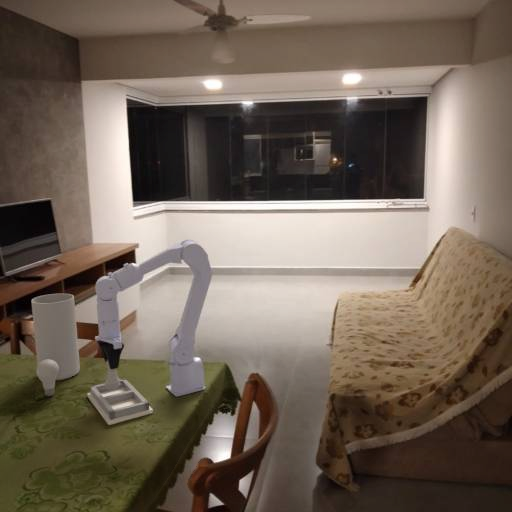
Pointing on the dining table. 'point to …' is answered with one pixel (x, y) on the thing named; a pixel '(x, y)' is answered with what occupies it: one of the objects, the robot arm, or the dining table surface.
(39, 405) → the dining table surface
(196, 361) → the robot arm
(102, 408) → the pocket tray
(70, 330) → the cylinder vase
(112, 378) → the rook chess piece
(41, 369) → the lightbulb
